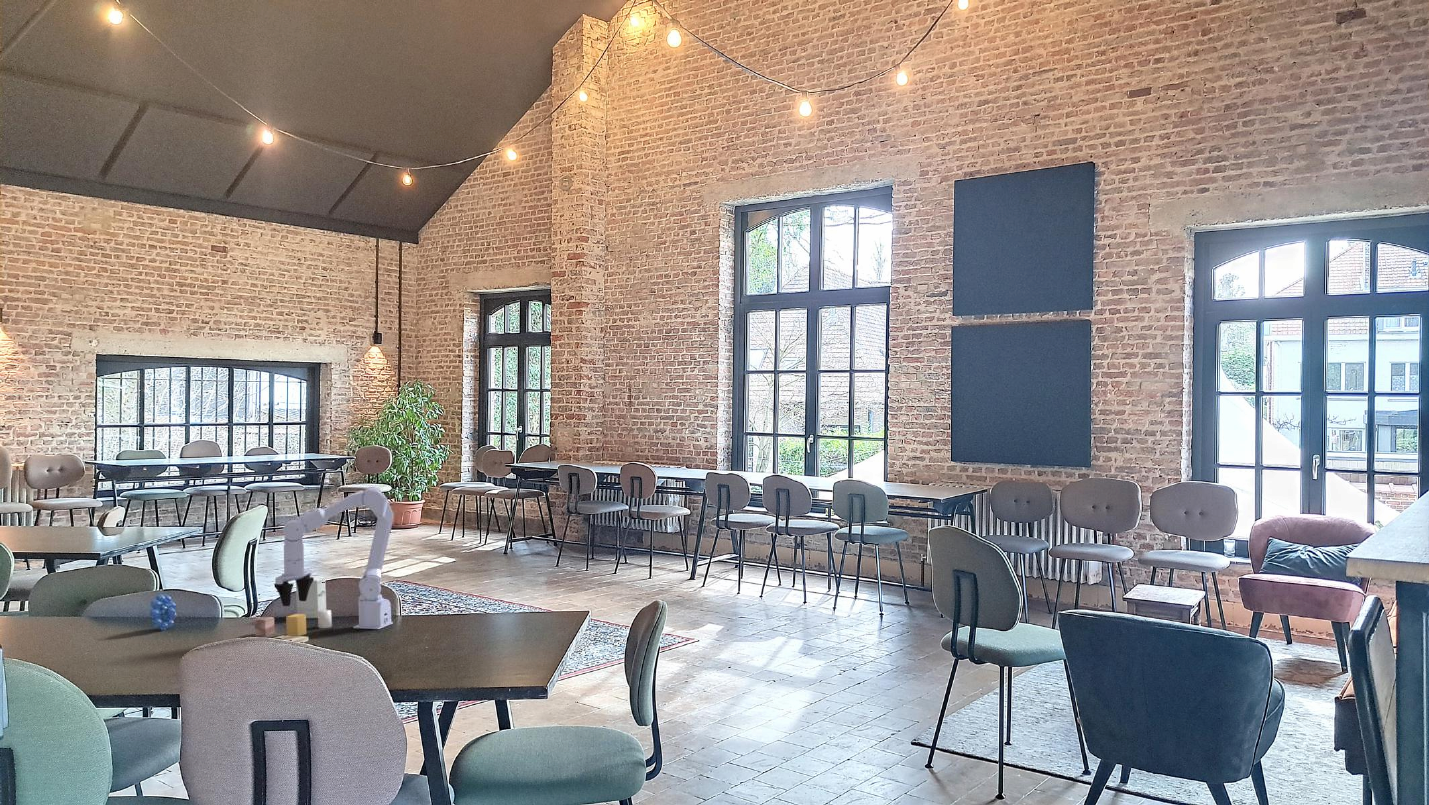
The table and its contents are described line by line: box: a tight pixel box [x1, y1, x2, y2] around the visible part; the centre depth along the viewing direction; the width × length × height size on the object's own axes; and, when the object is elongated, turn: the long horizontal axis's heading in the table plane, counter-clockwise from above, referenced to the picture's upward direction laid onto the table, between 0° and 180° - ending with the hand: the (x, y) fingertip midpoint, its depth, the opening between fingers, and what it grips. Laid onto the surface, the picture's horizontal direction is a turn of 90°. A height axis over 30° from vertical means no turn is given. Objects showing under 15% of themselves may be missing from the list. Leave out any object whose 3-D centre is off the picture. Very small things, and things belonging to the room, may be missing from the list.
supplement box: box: [295, 576, 327, 619], centre depth 342 cm, size 7×7×13 cm
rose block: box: [253, 616, 276, 637], centre depth 318 cm, size 4×4×5 cm
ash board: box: [274, 635, 309, 644], centre depth 304 cm, size 10×10×1 cm
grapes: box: [148, 593, 178, 631], centre depth 327 cm, size 12×7×12 cm, turn 173°
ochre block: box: [285, 613, 307, 636], centre depth 316 cm, size 4×4×6 cm
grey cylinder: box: [317, 609, 333, 629], centre depth 326 cm, size 4×4×5 cm
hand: (294, 603), depth 316 cm, fingers open, 7 cm apart
